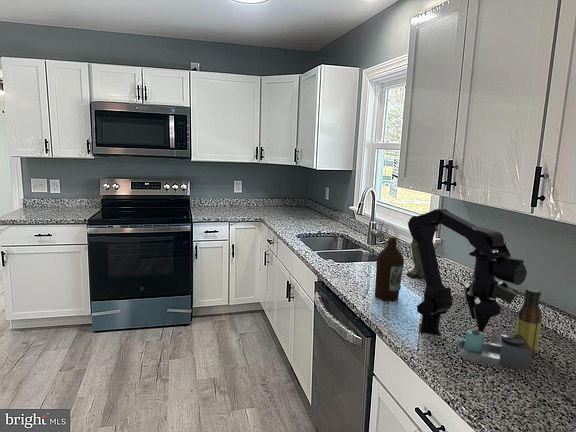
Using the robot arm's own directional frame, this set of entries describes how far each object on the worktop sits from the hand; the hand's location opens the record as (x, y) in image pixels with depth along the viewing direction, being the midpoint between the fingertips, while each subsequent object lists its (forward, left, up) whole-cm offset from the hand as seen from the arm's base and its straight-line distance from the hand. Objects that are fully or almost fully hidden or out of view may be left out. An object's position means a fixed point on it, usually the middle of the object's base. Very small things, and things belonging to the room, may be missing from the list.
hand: (477, 324), depth 118 cm
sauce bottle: (-8, +16, -9) cm, 20 cm away
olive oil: (-39, -25, -9) cm, 47 cm away
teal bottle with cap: (0, 0, -9) cm, 9 cm away
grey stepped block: (0, +5, -9) cm, 10 cm away
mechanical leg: (-76, -9, -9) cm, 77 cm away
